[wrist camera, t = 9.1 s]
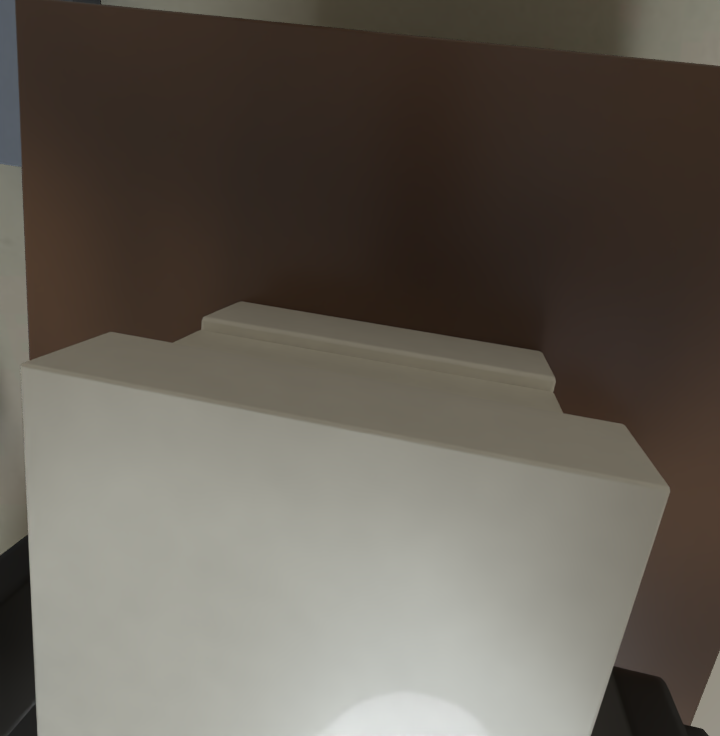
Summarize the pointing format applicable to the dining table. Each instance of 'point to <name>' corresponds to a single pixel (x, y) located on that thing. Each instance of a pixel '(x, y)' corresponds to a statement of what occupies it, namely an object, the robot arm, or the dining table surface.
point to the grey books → (11, 85)
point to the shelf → (401, 224)
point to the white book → (318, 550)
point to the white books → (381, 353)
